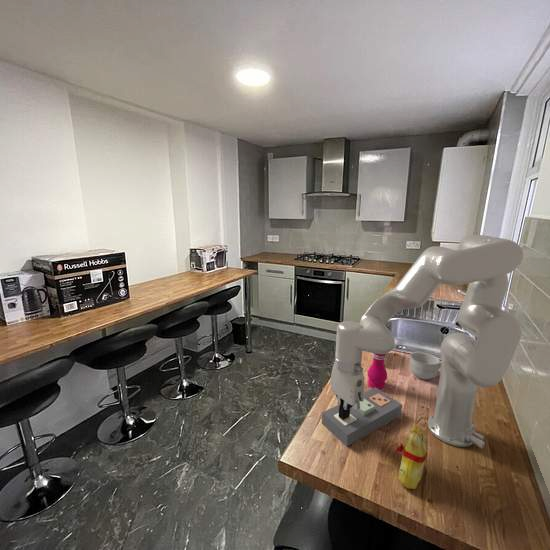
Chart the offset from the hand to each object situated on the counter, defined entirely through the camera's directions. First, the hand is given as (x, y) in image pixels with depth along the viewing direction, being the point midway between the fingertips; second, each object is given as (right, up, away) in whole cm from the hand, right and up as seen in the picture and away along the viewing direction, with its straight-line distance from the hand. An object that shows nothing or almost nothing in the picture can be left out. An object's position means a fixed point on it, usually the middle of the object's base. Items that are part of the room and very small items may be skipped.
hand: (344, 416), depth 90 cm
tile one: (0, -4, +1) cm, 4 cm away
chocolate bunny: (+13, -8, -14) cm, 21 cm away
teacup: (+40, +2, +29) cm, 50 cm away
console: (+7, -3, +5) cm, 9 cm away
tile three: (+14, -2, +9) cm, 17 cm away
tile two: (+7, -1, +5) cm, 9 cm away
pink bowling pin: (+18, +1, +23) cm, 29 cm away
